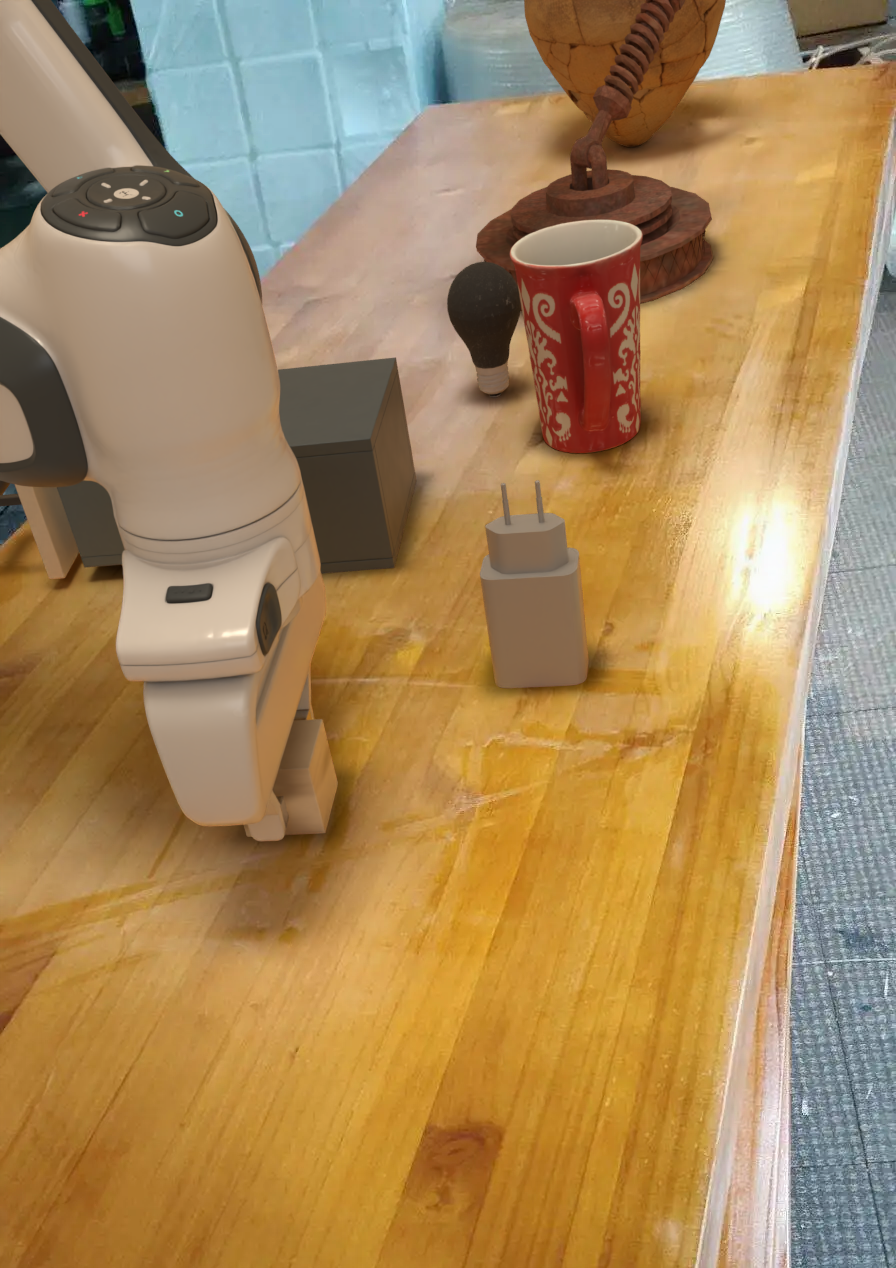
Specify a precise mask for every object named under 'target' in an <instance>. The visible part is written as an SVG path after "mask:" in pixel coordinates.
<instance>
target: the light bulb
mask: <svg viewBox="0 0 896 1268" xmlns="http://www.w3.org/2000/svg"><path fill="white" fill-rule="evenodd" d="M446 308H447V313H448V314H447V315H448V317H449V321H450V323H451V325H452V327H453V329H454V331H455V333H457V335H458V336H459V338H460V339H461V341H462V342H463V343H464V345H465V346H466V348H467V349H468V352H469V354H470V358H471V361H472V363H473V365H474V368H475V372H476V377H477V378H476V380H477V386H478V388H479V390H480V392H482V393H484V394H487V395H488V396H489V397H490V398H497V397H500V396H501V395H502V393H503V392H504V391H505V390H506V389H507V388H508V387H509V386H510V382H509V380H510V373H509V366H508V365H509V364H508V363H509V357H510V347H511V342H512V338H513V336H514V333H515V330H516V327H517V325H518V323H519V320H520V316H521V312H522V311H521V302H520V296H519V289H518V286H517V283H516V281H515V280H514V278H513V277H512V276H511V274H510V273H509V272H508V271H506V270H505V269H504V268H503V267H501V266H499V265H497V264H495V263H491V262H484V261H479V262H475V263H471V264H469V265H467V266H465V267H464V268H463V269H462V270H460V271H459V272H458V273H457V275H455V277H454V279H453V280H452V282H451V284H450V287H449V289H448V294H447V299H446Z"/></svg>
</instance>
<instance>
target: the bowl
mask: <svg viewBox="0 0 896 1268" xmlns="http://www.w3.org/2000/svg"><path fill="white" fill-rule="evenodd" d="M645 1H646V0H523V4H524V5H523V7H524V8H523V9H524V17H525V22H526V26H527V29H528V33H529V36H530V38H531V40H532V42H533V44H534V46H535V48H536V50H537V52H538V54H539V56H540V58H541V60H542V62H543V64H544V65H545V66H546V67H547V69H548V70H549V71H550V73H551V75H552V77H553V78H554V80H556V82H557V83H558V85H559V86H560V87H561V88H562V90H563V91H564V92H565V94H566V95H567V96H568V98H569V99H570V100H571V101H572V102H573V103H574V105H575V106H576V107H577V108H578V110H580V111H581V112H582V113H583V114H584V115H585V117H586V118H587V120H589V122H590V123H591V125H592V124H593V122H594V120H595V118H596V116H597V114H598V112H599V111H598V109H597V107H596V105H595V102H594V99H593V96H594V94H595V92H596V90H597V88H598V87H601V86H603V85H605V81H604V79H605V77H606V76H607V75H611V73H610V66H612V65H616V63H615V56H617V55H621V54H620V49H619V48H620V46H621V45H622V44H626V43H625V37H626V36H627V35H628V34H629V33H631V30H630V26H631V25H633V24H636V21H635V19H636V15H637V14H639V13H640V6H641V4H642V3H646V2H645ZM726 2H727V0H686V1H685V3H684V4H683V6H682V8H681V9H680V10H678V11H677V12H676V13H675V15H674V19H673V22H671V23H670V25H669V30H668V31H667V32H665V33H664V40H663V41H662V42H661V43H659V50H658V51H657V52H656V53H655V54H654V60H653V61H652V62H651V63H650V64H649V67H648V71H647V72H646V74H645V75H643V78H644V80H643V82H642V83H641V84H640V85H638V89H639V90H638V92H637V93H636V94H634V95H633V100H632V104H631V110H630V112H629V114H628V116H627V118H624V119H621V120H614V121H612V122H611V124H610V126H609V128H608V130H607V132H606V134H605V136H604V137H606V138H607V139H609V140H611V141H613V142H615V143H616V144H619V145H621V146H623V147H627V148H636V147H638V146H641V145H643V144H644V143H647V142H648V141H649V140H650V139H651V138H652V137H653V136H654V135H655V134H656V133H657V132H658V131H659V130H660V128H662V126H663V125H664V124H666V123H667V121H668V120H669V119H670V118H671V116H672V115H673V113H674V111H675V110H676V109H677V107H678V106H679V104H680V102H681V101H682V100H683V98H684V97H685V95H686V93H687V91H688V90H689V88H690V87H691V85H693V83H694V81H695V79H696V78H697V76H698V74H699V72H700V71H701V69H702V68H703V67H704V65H705V64H706V62H707V60H709V57H710V55H711V53H712V50H713V47H714V46H715V42H716V40H717V37H718V33H719V29H720V25H721V22H722V18H723V15H724V11H725V8H726ZM645 57H646V55H645ZM639 67H641V66H639ZM634 77H635V76H634ZM635 78H636V77H635ZM629 87H630V88H631V86H629ZM625 97H626V96H625Z"/></svg>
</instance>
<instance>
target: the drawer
mask: <svg viewBox="0 0 896 1268" xmlns="http://www.w3.org/2000/svg"><path fill="white" fill-rule="evenodd" d="M10 485H11V483H7V482H4V481H1V480H0V507H7V506H8V507H10V506H22V508H23V512H24V514H25V516H26V519H27V522H28V525H29V527H30V528H29V529H30V530H31V533H32V536H33V539H34V542H35V544H36V547H37V550H38V552H39V555H40V557H41V561H42V563H43V566H44V569H45V571H46V574H47V578H48V579H49V580H57V579H65V578H66V577H67V576H68V574H69V571H70V569H72V566H73V564H74V563H75V561H76V559H77V557H78V555H79V557H80V559H81V562H82V565H83V567H84V568H98V567H110V566H122V553H123V551H124V550H125V549H124V546H123V543H122V540H121V537H120V533H119V530H118V527H117V524H116V521H115V518H114V513H113V506H112V501H111V498H110V495H109V493H108V492H107V490H106V489H105V488H104V487H103V486H102V485H100V484H98V483H97V482H94V481H82V482H80V483H78V484H75V485H71V486H65V487H28V486H20V485H16V484H14V487H15V490H16V492H17V493H8V494H5V492H6V491H7V489H8V488H9V486H10Z"/></svg>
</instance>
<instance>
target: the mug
mask: <svg viewBox="0 0 896 1268" xmlns="http://www.w3.org/2000/svg"><path fill="white" fill-rule="evenodd" d="M642 239H643V234H642V232H641V230H640V229H639V228H638V227H636V226H634V225H632V224H630V223H626V222H622V221H615V220H584V221H576V222H569V223H563V224H559V225H555V226H551V227H547V228H544V229H541V230H538V231H535V232H533V233H531V234H529V235H527V236H525V237H523V238H521V239H520V240H519V241H517V242H516V243H515V244H514V245H513V246H512V248H511V250H510V258H511V260H512V262H513V264H514V266H515V271H516V277H517V283H518V289H519V296H520V302H521V308H522V311H521V312H522V317H523V318H522V319H523V325H524V330H525V337H526V342H527V347H528V352H529V360H530V364H531V365H530V366H531V372H532V378H533V384H534V385H533V386H534V390H535V391H534V392H535V397H536V402H537V408H538V414H539V421H540V429H541V433H542V434H541V435H542V438H543V441H544V442H545V443H546V445H548V446H550V447H551V449H552V448H553V449H554V450H557V451H560V452H565V453H570V454H588V453H589V454H590V453H596V452H601V451H602V452H603V451H606V450H610V449H614V448H616V447H619V446H622V445H624V444H625V443H627V442H629V441H630V440H632V439H634V437H635V436H637V434H638V433H639V431H640V429H641V422H642V421H641V420H642V419H641V418H642V416H641V414H642V413H641V412H642V411H641V408H642V400H641V304H640V247H641V243H642Z"/></svg>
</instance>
